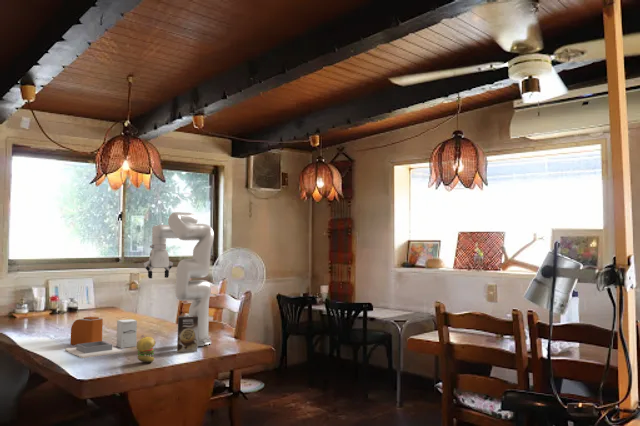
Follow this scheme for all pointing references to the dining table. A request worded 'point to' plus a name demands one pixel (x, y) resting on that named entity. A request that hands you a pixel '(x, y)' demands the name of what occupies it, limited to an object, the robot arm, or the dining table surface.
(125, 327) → the supplement box
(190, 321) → the coffee box
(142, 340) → the hamburger
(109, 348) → the dock board
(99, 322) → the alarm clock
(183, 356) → the dining table surface
